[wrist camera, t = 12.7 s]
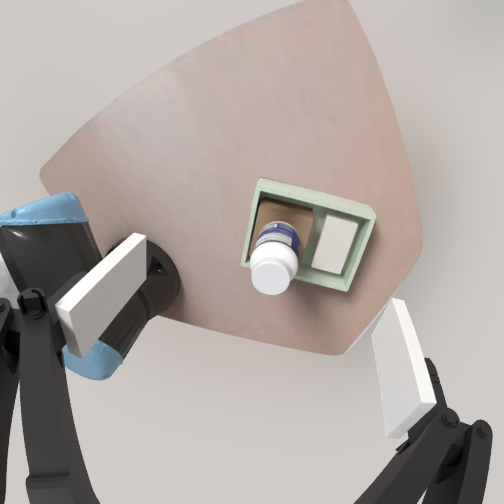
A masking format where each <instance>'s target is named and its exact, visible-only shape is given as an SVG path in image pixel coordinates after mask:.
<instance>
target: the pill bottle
mask: <svg viewBox="0 0 504 504" xmlns="http://www.w3.org/2000/svg"><path fill="white" fill-rule="evenodd" d="M299 247H300V239H299V235H298V233H297V231H296V229H295V228H294V227H293V226H291V225H290V224H288V223H285V222H281V221H276V222H271V223H269V224H267V225H265V226H264V227H263V228H262V230H261V231H260V234H259V236H258V239H257V242H256V244H255V247H254V250H253V252H252V255H251V258H250V270H251V272H252V276H251V278H252V283H253V285H254V287H255V288H256V289H257V290H258V291H260V292H261V293H264V294H267V295H277V294H280V293H282V292H284V291H285V290H286V289H287V288H288V286H289V284H290V281H291V280H292V279H293V278H294V277H295V275H296V273H297V270H298V261H299Z"/></svg>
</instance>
